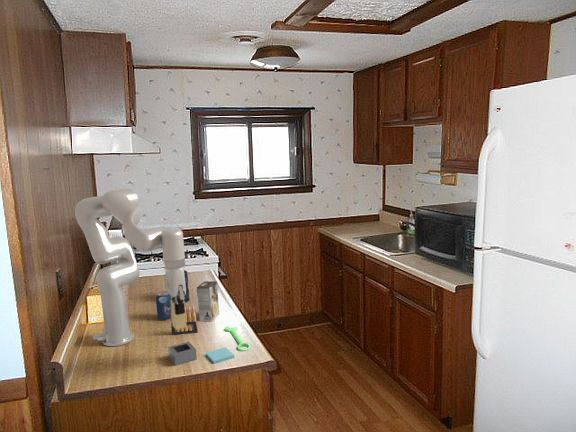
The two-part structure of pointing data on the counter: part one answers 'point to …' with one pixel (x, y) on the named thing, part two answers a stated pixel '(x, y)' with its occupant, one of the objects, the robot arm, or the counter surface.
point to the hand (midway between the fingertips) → (178, 311)
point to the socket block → (182, 353)
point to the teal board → (219, 355)
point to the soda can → (163, 305)
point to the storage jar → (186, 287)
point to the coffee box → (208, 301)
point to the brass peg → (177, 317)
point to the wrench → (237, 338)
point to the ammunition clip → (187, 323)
